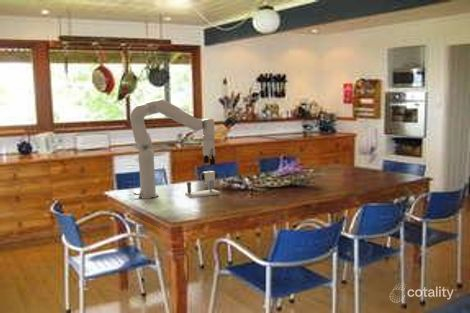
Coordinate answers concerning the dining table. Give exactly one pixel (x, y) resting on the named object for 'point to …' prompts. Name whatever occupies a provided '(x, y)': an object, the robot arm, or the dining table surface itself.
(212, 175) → the pneumatic valve
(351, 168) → the dining table surface
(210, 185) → the slider leg
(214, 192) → the pitch plate
